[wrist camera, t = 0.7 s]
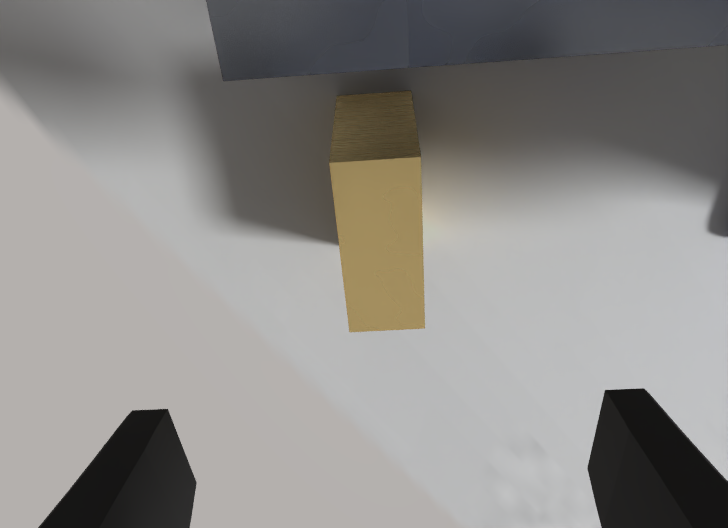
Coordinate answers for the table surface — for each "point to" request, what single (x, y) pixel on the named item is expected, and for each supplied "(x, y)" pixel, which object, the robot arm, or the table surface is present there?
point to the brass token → (379, 210)
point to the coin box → (446, 32)
